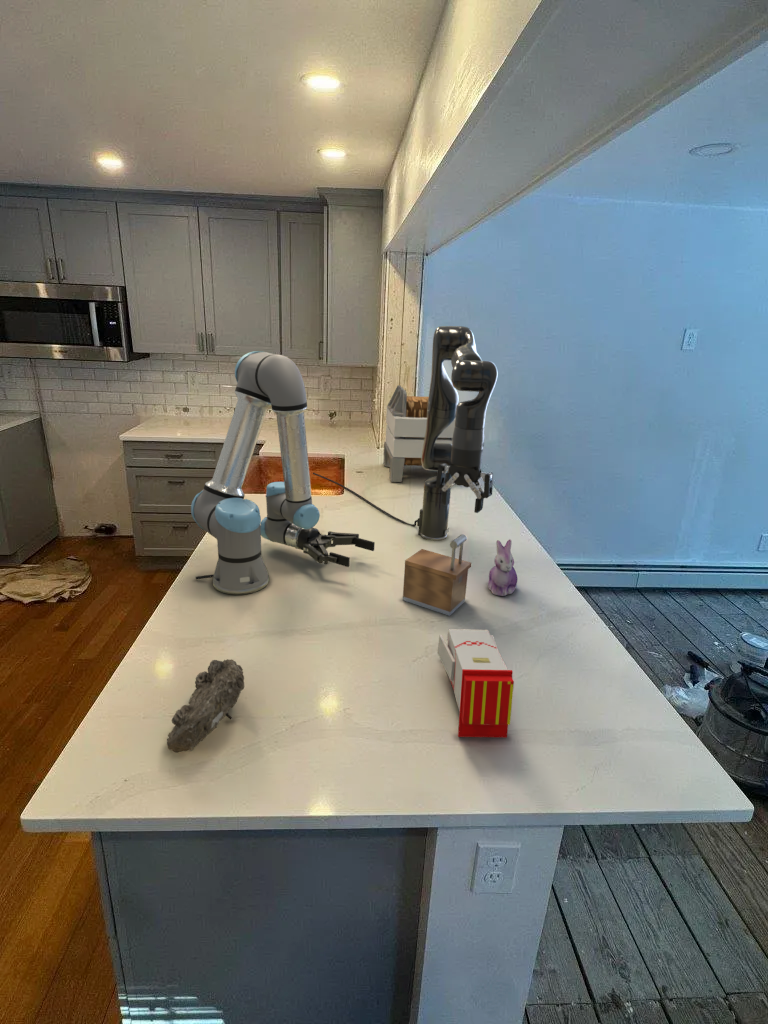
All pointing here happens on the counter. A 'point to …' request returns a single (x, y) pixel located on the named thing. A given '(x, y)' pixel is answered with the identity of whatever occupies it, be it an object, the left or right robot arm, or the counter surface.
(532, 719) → the counter surface
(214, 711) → the fossil
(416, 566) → the lid
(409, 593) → the chest
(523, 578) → the counter surface
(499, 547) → the figurine
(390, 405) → the transformer
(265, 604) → the counter surface
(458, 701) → the toy
